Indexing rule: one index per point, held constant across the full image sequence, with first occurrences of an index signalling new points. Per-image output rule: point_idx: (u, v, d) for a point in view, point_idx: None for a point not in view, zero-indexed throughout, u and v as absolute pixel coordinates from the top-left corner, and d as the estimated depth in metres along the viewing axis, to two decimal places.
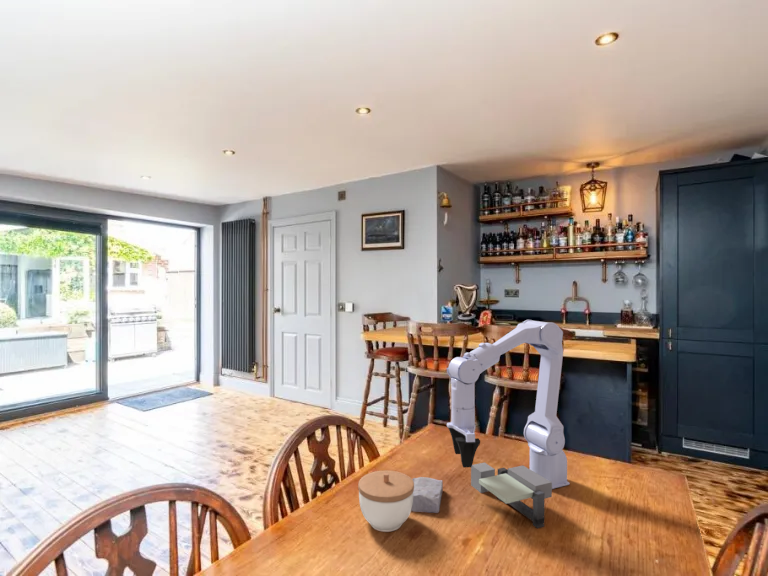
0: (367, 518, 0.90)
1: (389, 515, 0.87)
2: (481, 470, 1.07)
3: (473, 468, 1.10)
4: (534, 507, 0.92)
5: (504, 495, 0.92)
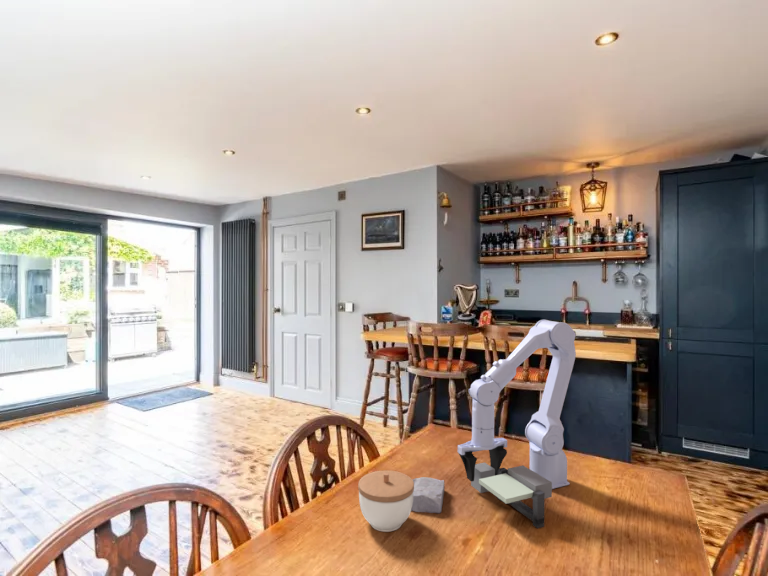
0: (367, 518, 0.90)
1: (389, 515, 0.87)
2: (481, 470, 1.07)
3: None
4: (534, 507, 0.92)
5: (504, 495, 0.92)
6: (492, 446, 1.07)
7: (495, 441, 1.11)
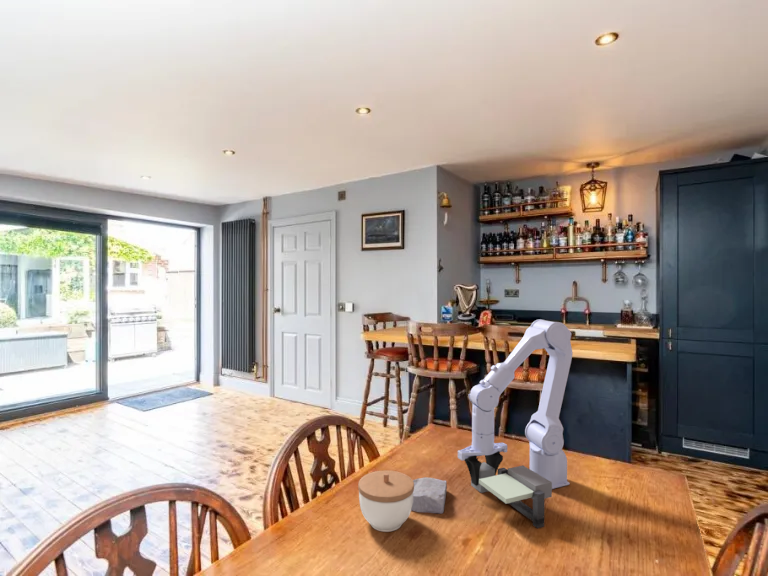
0: (367, 518, 0.90)
1: (389, 515, 0.87)
2: (481, 470, 1.07)
3: None
4: (534, 507, 0.92)
5: (504, 495, 0.92)
6: (492, 451, 1.07)
7: (495, 446, 1.11)
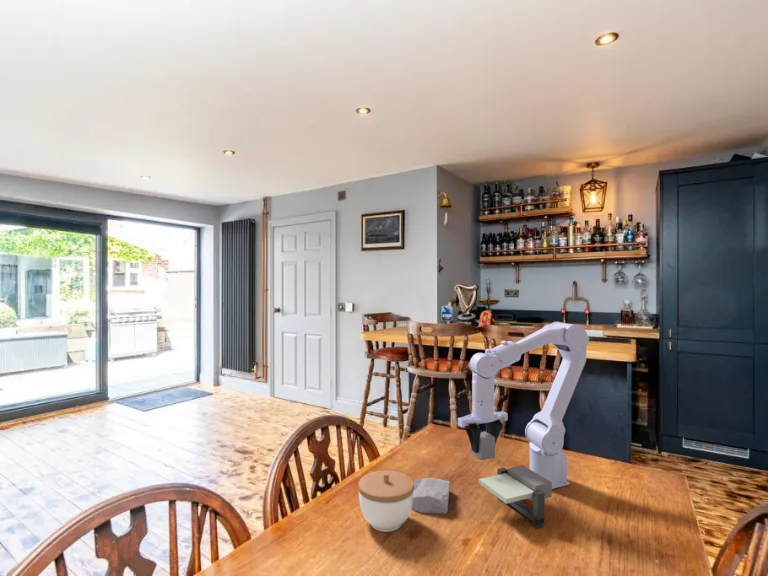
0: (367, 518, 0.90)
1: (389, 515, 0.87)
2: (481, 438, 1.07)
3: None
4: (534, 507, 0.92)
5: (504, 495, 0.92)
6: (492, 418, 1.07)
7: (495, 414, 1.11)
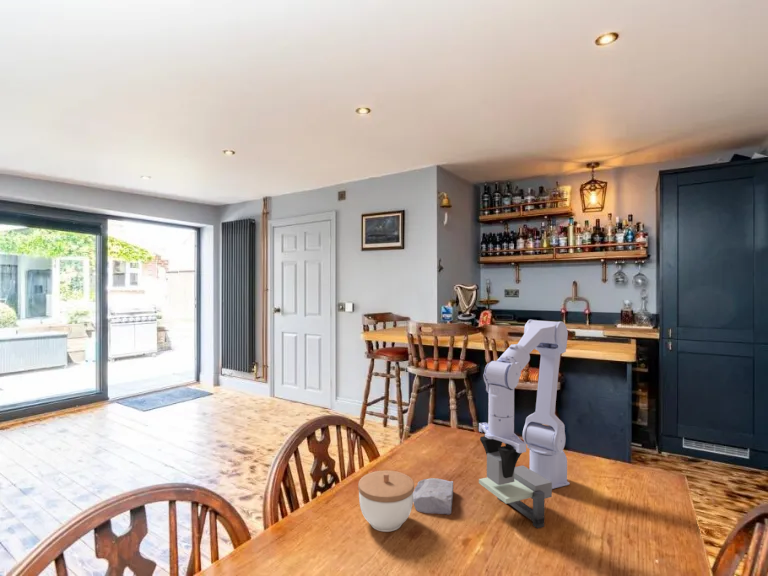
0: (367, 518, 0.90)
1: (389, 515, 0.87)
2: None
3: None
4: (534, 507, 0.92)
5: (504, 495, 0.92)
6: None
7: None
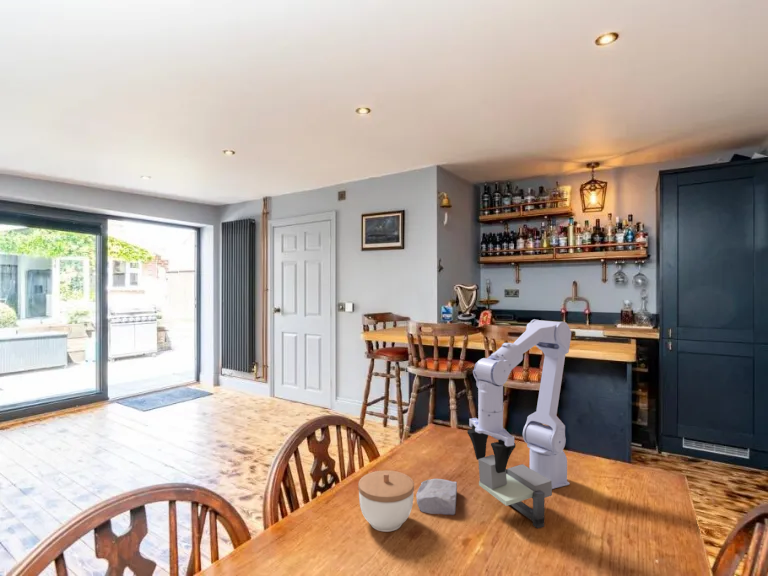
0: (367, 518, 0.90)
1: (389, 515, 0.87)
2: None
3: (494, 466, 0.95)
4: (534, 507, 0.92)
5: (504, 497, 0.92)
6: None
7: None
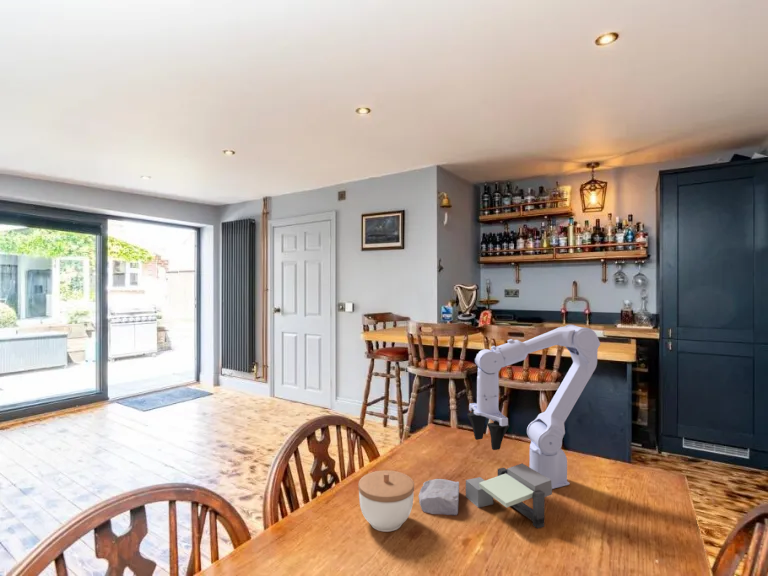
0: (367, 518, 0.90)
1: (389, 515, 0.87)
2: None
3: (470, 480, 1.05)
4: (534, 507, 0.92)
5: (504, 499, 0.92)
6: None
7: None
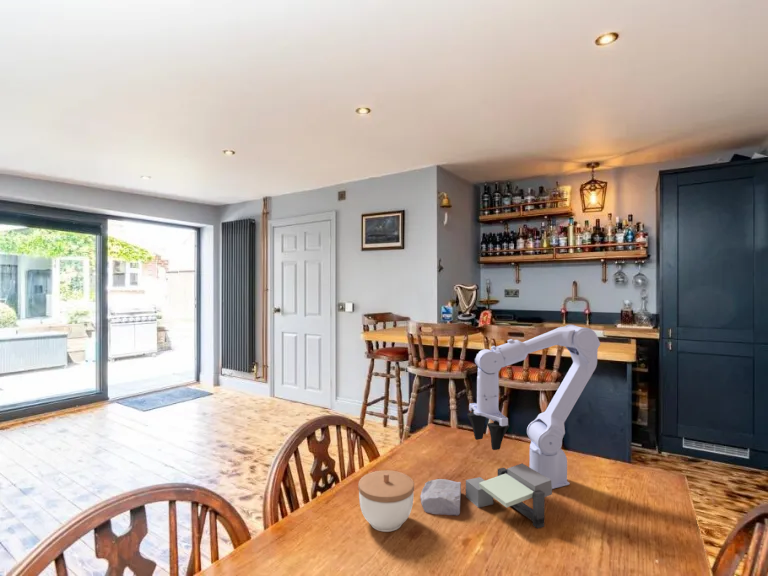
0: (367, 518, 0.90)
1: (389, 515, 0.87)
2: None
3: (470, 480, 1.05)
4: (534, 507, 0.92)
5: (504, 499, 0.92)
6: None
7: None
